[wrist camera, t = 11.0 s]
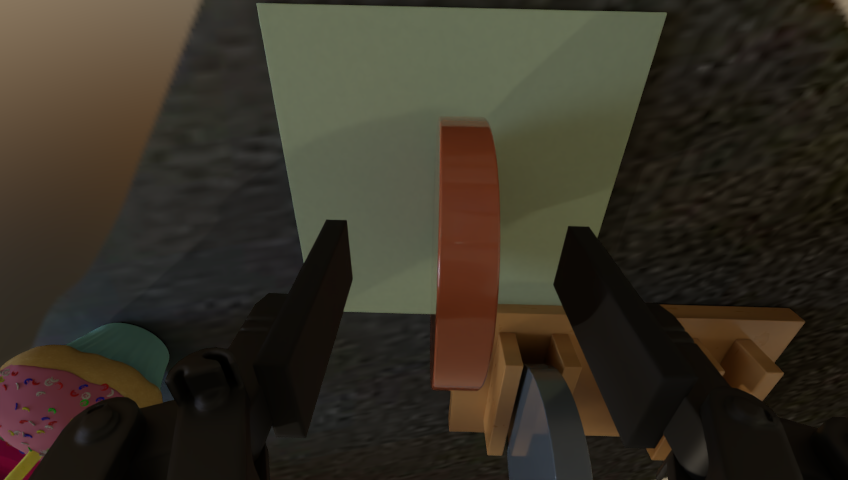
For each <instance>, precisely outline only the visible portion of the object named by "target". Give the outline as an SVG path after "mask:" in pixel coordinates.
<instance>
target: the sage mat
mask: <svg viewBox="0 0 848 480" xmlns="http://www.w3.org/2000/svg"><path fill="white" fill-rule="evenodd" d="M257 9H258V15H259V20H260V26H261V31H262V37H263V42H264V48H265V53H266V59H267V64H268V69H269V75H270V80H271V86H272V91H273V97H274V102H275V108H276V113H277V119H278V124H279V130H280V135H281V140H282V146H283V151H284V157H285V162H286V168H287V173H288V179H289V184H290V190H291V195H292V201H293V206H294V211H295V217H296V222H297V228H298V233H299V239H300V244H301V250H302V255H303V261H304V262H305V260H306V258H307V256H308V254H309V252H310V250H311V248H312V247H313V245H314V243H315V241H316V239H317V237H318V235H319V233H320V231H321V229H322V227H323V225H324V223H325V221H326V220H347V226H348V236H349V246H350V256H351V265H352V275H353V281H352V284H351V287H350V291H349V294H348V297H347V301H346V304H345V308H344V311H343V312H377V313H412V314H430V309H431V261H432V226H433V196H434V171H435V150H436V134H437V122H438V118H439V116H441V115H442V116H481V117H485V118H486V119H487V120H488V122H489V124H490V127H491V130H492V134H493V138H494V143H495V149H496V155H497V165H498V175H499V190H500V225H501V244H500V277H499V295H498V304H521V305H556V306H562V304H561V302H560V299H559V297H558V295H557V293H556V290H555V288H554V286H553V283H554V279H555V275H556V272H557V268H558V264H559V260H560V256H561V252H562V248H563V244H564V240H565V237H566V233H567V229H568V226H585V227H590V229H591V230H592V231H593V233H594V234H595V236H596V237H598V234H599V231H600V228H601V224H602V221H603V218H604V215H605V212H606V208H607V205H608V202H609V199H610V196H611V192H612V189H613V186H614V183H615V179H616V176H617V173H618V170H619V167H620V163H621V160H622V157H623V154H624V150H625V147H626V144H627V141H628V138H629V134H630V131H631V128H632V125H633V121H634V118H635V115H636V112H637V109H638V105H639V102H640V99H641V96H642V93H643V89H644V86H645V83H646V80H647V76H648V73H649V70H650V67H651V64H652V60H653V57H654V54H655V51H656V47H657V44H658V41H659V38H660V35H661V31H662V28H663V25H664V22H665V19H666V15H667V13H666V12H623V11H581V10H538V9H496V8H453V7H411V6H368V5H326V4H283V3H257Z"/></svg>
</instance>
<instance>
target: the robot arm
mask: <svg viewBox="0 0 848 480" xmlns="http://www.w3.org/2000/svg"><path fill="white" fill-rule="evenodd" d="M352 281H353V275H352V265H351V256H350V246H349V236H348V226H347V220H326V221H325V223H324V225H323V227H322V229H321V231H320V233H319V235H318V237H317V239H316V241H315V243H314V245H313V247H312V248H311V250H310V252H309V254H308V256H307V258H306V260H305V262H304V264H303V266H302V268H301V270H300V272H299V274H298V276H297V278H296V280H295V282H294V284H293V286H292V288H291V290H290V292H289V294H278V293H268V294H267V295H266V296H265V297H264V298H262V299H261V300H260V301H259V302H257V303H256V304H255V305H254V307H253V309H252V310H251V312H250V314H249V315H248V317H247V320H245V322H244V324H243V325H242V327H241V330H240V331H239V332H238V334H237V335H236V337H235V339H234V340H233V342H232V343H231V345H230V347H229V348H228V350H227V349H223V348H218V347H214V348H206V349H202V350H199V351H197V352H194V353H191V354H190V355H188V356H186V357H185V358H183V359H182V360H180V361H179V362H178V363H177V364H176V365H175V366H174V367H173V368H172V369H171V370H170V371H169V373H168V376H167V378H166V380H165V383H166V385H167V387H168V388H169V390H170V392H171V394H172V396H173V398H174V400H172V401H168V402H164V403H160V404H156V405H152V406H148V407H143V408H139V407H138V405H137V403H136V402H135V401H133V400H132V399H130V398H128V397H113V398H109V399H105V400H102V401H100V402H98V403H96V404H94V405H91V406H89V407H87V408H86V409H85V410H83V411H82V412H81V413H79V414H78V415H76V416H75V417H74V418H73V419H72V420H71V421H70V422H69V423H68V424H67V425H66V427H65V428H64V429H63V430H62V431H61V433H60V434H59V436H58V437H57V439H56V440H55V441H54V443H53V444H52V446H51V447H50V449H49V450H48V452H47V453H46V454H45V456H44V457H43V459H42V460H41V462H40V463H39V464H38V466H37V467H36V469H35V470H34V472H33V473H32V475H31V476H30V477H29V479H28V480H270V472H269V456H268V449H267V446H266V443H265V442H266V439H267V436H268V434H269V431H270V429H271V426H273V429H274V432H275V435H276V437H292V438H306V436H307V432H308V429H309V425H310V422H311V419H312V415H313V412H314V409H315V405H316V402H317V399H318V395H319V392H320V388H321V385H322V382H323V378H324V375H325V372H326V368H327V365H328V361H329V358H330V355H331V351H332V348H333V345H334V341H335V338H336V335H337V331H338V328H339V324H340V321H341V318H342V314H343V311H344V308H345V304H346V301H347V297H348V294H349V291H350V287H351V284H352ZM553 286H554V288H555V290H556V293H557V295H558V297H559V299H560V302H561V304H562V306H563V309H564V311H565V313H566V315H567V318H568V320H569V322H570V324H571V327H572V329H573V331H574V334H575V336H576V338H577V340H578V343H579V345H580V347H581V349H582V352H583V354H584V356H585V358H586V361H587V363H588V365H589V368H590V370H591V372H592V374H593V377H594V379H595V381H596V383H597V386H598V388H599V390H600V393H601V395H602V397H603V399H604V402H605V404H606V406H607V408H608V411H609V413H610V415H611V417H612V420H613V422H614V424H615V427H616V429H617V431H618V433H619V436H620V438H621V440H622V442H623V445H624V447H625V448H653V449H655V447H656V446H657V444H658V443H659V441H660V439H661V438H662V436H663V435H664V436H665V438H666V440H667V442H668V444H669V446H670V447H671V449H672V450H671V451H670V453H669V454H668V456H667V457H666V459H665V460H664V462H663V463H662V465H661V466H660V468H659V469H658V471H657V475H656V480H662V479H663V477H664V476H665V474H666V473H667V472H668V480H848V418H845V417H832V418H830V419H829V420H827V421H825V422H824V423H823V425H822V426H821V427H820V428H819V429H818V428H814V427H811V426H807V425H804V424H800V423H797V422H793V421H790V420H786V419H783V418H779V417H777V415H776V413H775V412H774V411H772V410H771V409H770V408H769V407H768V406H767V405H766V404H765V403H764V402H762V401H761V400H759V399H758V398H756V397H755V396H753V395H752V394H749V393H747V392H745V391H742V390H740V389H738V388H733V387H731V386H730V385H729V384H728V383H727V381H726V380H725V379H724V378H723V376H722V375H721V374H720V373H719V371H718V370H717V369H716V368H715V366H714V365H713V364H712V362H711V361H710V360H709V359H708V357H707V356H706V355H705V354H704V352H703V351H702V350H701V349H700V347H699V346H698V345H697V344H696V343H694V340H693V339H692V337H691V336H690V335H689V334H688V332H685V328H684V327H683V326H682V325H681V323H680V322H679V321H678V320H677V318H676V317H675V316H674V315H673V314H672V313H670V312H669V311H668V310H666V309H665V308H664V307H662V306H661V305H659V304H658V303H644V302H643V300H642V299H641V297H640V296H639V295H638V293H637V292H636V291H635V289H634V288H633V286H632V285H631V284H630V282H629V281H628V280H627V278H626V277H625V275H624V274H623V273H622V271H621V270H620V269H619V267H618V266H617V264H616V263H615V262H614V260H613V259H612V258H611V256H610V255H609V253H608V252H607V251H606V249H605V248H604V247H603V245H602V244H601V242H600V241H599V240H598V238H597V237H596V236H595V234H594V233H593V231H592V230H591V229H590V227H585V226H568V229H567V233H566V237H565V240H564V244H563V248H562V252H561V256H560V260H559V264H558V268H557V272H556V275H555V279H554V283H553Z"/></svg>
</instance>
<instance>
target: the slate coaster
mask: <svg viewBox="0 0 848 480" xmlns="http://www.w3.org/2000/svg"><path fill="white" fill-rule="evenodd" d="M506 442H507V459H508V470H509V480H593V477H592V470H591V463H590V457H589V452H588V447H587V442H586V438H585V433H584V429H583V426H582V422H581V418H580V415H579V412H578V409H577V406H576V403H575V401H574V398H573V396H572V393H571V391H570V389H569V387H568V385H567V383H566V381H565V379H564V378H563V376H562V375H561V373H560V372H559V371H558V370H557V369H556V368H555V367H554V366H552V365H550V364H541V363H523V370H522V374H521V378H520V383H519V387H518V391H517V395H516V399H515V403H514V408H513V412H512V416H511V420H510V424H509V429H508V433H507V437H506Z"/></svg>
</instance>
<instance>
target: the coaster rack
mask: <svg viewBox="0 0 848 480" xmlns="http://www.w3.org/2000/svg"><path fill="white" fill-rule="evenodd" d="M659 305H661V306H662V307H664V308H665V309H666V310H668V311H669V312H670V313H672V314H673V315H674V316H675V317H676V318H677V320H678V321H679V322H680V323H681V325H682V326H683V327H684V328H685V332H688V334H689V335H690V336H691V337H692V339H693V340H694V343H696V344H697V345H698V346H699V347H700V349H701V350H702V351H703V352H704V354H705V355H706V356H707V357H708V359H709V360H710V361H711V362H712V364H713V365H714V366H715V368H716V369H717V370H718V371H719V373H720V374H721V375H722V376H723V378H724V379H725V380H726V381H727V383H728V384H729V385H730V386H731V387H733V388H738V389H740V390H742V391H745V392H747V393H749V394H752V395H753V396H755V397H756V398H758V399H759V400H761V401H763V400H764V398H765V397H766V396H767V395H768V393H769V392H770V391H771V390H772V388H773V387H774V386H775V385H776V383H777V382H778V381H779V380H780V378H781V377H782V376H783V375H784V373H783V371H782V370H781V369H780V368H779V367H778V366H777V365H776V364H775V363H774V362H775V361H776V360H777V359H778V357H779V356H780V355H781V353H782V352H783V351H784V349H785V348H786V347H787V345H788V344H789V343H790V341H791V340H792V339H793V338H794V336H795V335H796V334H797V332H798V331H799V330H800V328H801V327H802V326H803V324H804V323H805V321H804V320H803V319H802V318H800V317H799V316H798V315H797V314H796V313H794V312H793V311H792V310H791V309H790V308H769V307H734V306H698V305H663V304H659ZM523 363H541V364H550V365H552V366H554V367H555V368H556V369H557V370H558V371H559V372H560V373H561V375H562V376H563V378H564V379H565V381H566V383H567V385H568V387H569V389H570V391H571V393H572V396H573V398H574V401H575V403H576V406H577V409H578V412H579V415H580V418H581V422H582V426H583V429H584V433H585V435H591V436H619V433H618V431H617V429H616V427H615V424H614V422H613V420H612V417H611V415H610V413H609V411H608V408H607V406H606V404H605V402H604V399H603V397H602V395H601V393H600V390H599V388H598V386H597V383H596V381H595V379H594V377H593V374H592V372H591V370H590V368H589V365H588V363H587V361H586V358H585V356H584V354H583V352H582V349H581V347H580V345H579V343H578V340H577V338H576V336H575V334H574V331H573V329H572V327H571V324H570V322H569V320H568V318H567V315H566V313H565V311H564V309H563V306H556V305H521V304H498V309H497V319H496V329H495V337H494V344H493V350H492V356H491V361H490V366H489V369H488V373H487V377H486V379H485V382H484V385H483V386H482V388H481V389H480V390H478V391H476V392H471V391H451V396H450V407H449V431H459V432H485V439H486V447H487V454H488V455H501V456H502V454H503V449H504V445H505V441H506V437H507V433H508V429H509V424H510V420H511V416H512V412H513V408H514V403H515V399H516V395H517V391H518V387H519V383H520V378H521V374H522V370H523ZM646 449H647V451H648V453H649V455H650V457H651V459H652V460H665V459H666V457H667V456H668V454H669V453H670V451H671V450H672V449H671V447H670V446H669V444H668V442H667V440H666V438H665V436H664V435H663V436H662V438H661V439H660V441H659V443H658V444H657V446H656V447H655V449H653V448H646Z"/></svg>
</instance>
